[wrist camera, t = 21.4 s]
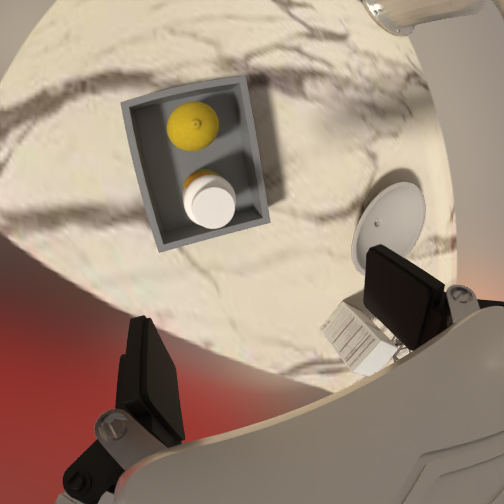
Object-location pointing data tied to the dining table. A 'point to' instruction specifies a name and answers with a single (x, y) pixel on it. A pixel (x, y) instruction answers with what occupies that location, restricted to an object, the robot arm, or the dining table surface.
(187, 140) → the lemon
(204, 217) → the supplement bottle
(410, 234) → the dish
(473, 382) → the robot arm
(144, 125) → the tote
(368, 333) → the supplement box
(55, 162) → the dining table surface
